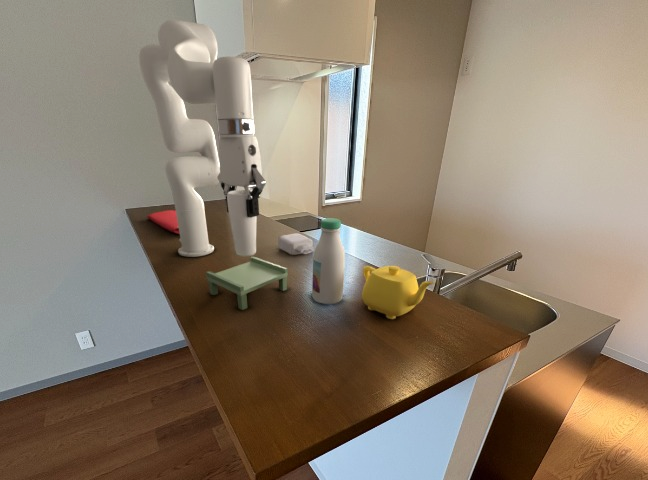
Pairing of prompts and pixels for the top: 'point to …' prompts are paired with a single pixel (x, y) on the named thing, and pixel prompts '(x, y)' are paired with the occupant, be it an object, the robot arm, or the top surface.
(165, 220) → the red flat wedge
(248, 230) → the drinking glass
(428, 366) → the top surface
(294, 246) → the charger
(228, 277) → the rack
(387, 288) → the teapot
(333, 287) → the milk bottle
